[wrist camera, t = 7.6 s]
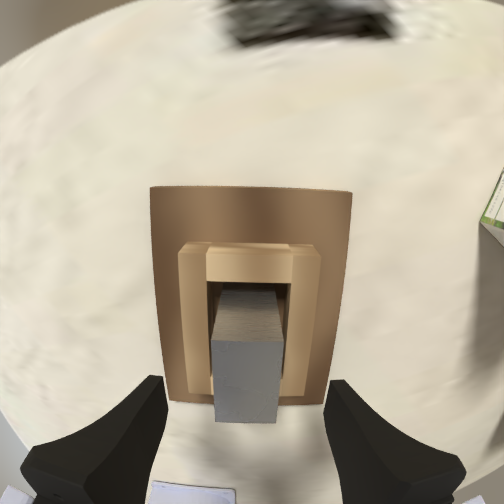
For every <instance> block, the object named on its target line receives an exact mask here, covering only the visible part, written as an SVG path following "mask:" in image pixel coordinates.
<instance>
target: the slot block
mask: <svg viewBox="0 0 504 504" xmlns="http://www.w3.org/2000/svg"><path fill="white" fill-rule="evenodd" d="M351 207H352V193H351V192H348V191H335V190H319V189H301V188H278V187H245V186H155V187H151V188H150V216H151V239H152V257H153V271H154V284H155V295H156V306H157V315H158V325H159V333H160V341H161V349H162V356H163V363H164V370H165V377H166V383H167V389H168V395H169V400H172V401H182V402H193V403H207V404H214V391H213V373H212V351H211V338H212V334H213V329H214V324H215V320H216V315H217V311H218V306H219V302H220V297H221V293H222V288H223V284H224V282H258V283H274V288H275V294H276V299H277V305H278V311H279V316H280V322H281V328H282V333H283V339H284V347H283V358H282V369H281V379H280V389H279V399H278V405H310V404H323V400H324V395H325V391H326V386H327V381H328V376H329V371H330V366H331V360H332V355H333V349H334V344H335V338H336V332H337V326H338V319H339V313H340V306H341V299H342V292H343V285H344V277H345V268H346V260H347V251H348V241H349V231H350V219H351Z"/></svg>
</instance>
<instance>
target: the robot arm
mask: <svg viewBox="0 0 504 504" xmlns="http://www.w3.org/2000/svg"><path fill="white" fill-rule="evenodd" d="M167 415H168V404H167V399H166V393H165V387H164V381H163V376H155V375H149V376H148V377H147V378H146V379H145V380H144V381H143V382H142V383H141V384H140V385H139V386H137V387H136V388H135V389H134V390H133V391H132V392H131V393H130V394H129V395H128V396H127V397H126V398H125V399H124V400H123V401H122V402H120V403H119V404H118V405H117V406H116V407H114V408H113V409H112V410H111V411H109V412H108V413H107V414H105V415H104V416H103V417H101V418H100V419H98V420H97V421H95V422H94V423H92V424H90V425H89V426H87V427H85V428H83V429H81V430H79V431H77V432H75V433H73V434H71V435H68V436H66V437H63V438H61V439H58V440H55V441H52V442H49V443H45V444H41V445H37V446H33V448H32V449H31V450H30V452H29V454H28V455H27V457H26V458H25V460H24V462H23V463H22V465H21V467H20V470H21V473H22V475H23V477H24V478H25V479H26V481H27V482H28V483H29V484H30V486H31V487H32V488H33V489H34V491H35V492H36V493H37V496H36V498H35V499H34V498H33V497H31V496H30V495H28V494H26V493H25V492H23V491H21V490H19V489H17V488H15V487H13V486H11V485H8V486H7V488H6V490H5V492H4V493H3V495H2V497H1V499H0V504H145V498H146V492H147V487H148V481H149V476H150V472H151V468H152V465H153V462H154V459H155V456H156V453H157V450H158V447H159V444H160V441H161V438H162V435H163V432H164V429H165V425H166V420H167ZM323 415H324V422H325V428H326V433H327V437H328V440H329V444H330V447H331V450H332V454H333V457H334V460H335V464H336V467H337V470H338V474H339V479H340V485H341V492H342V499H343V504H452V502H454V497H453V495H452V493H453V492H454V491H455V490H456V489H457V487H458V486H459V485H460V484H461V482H462V481H463V480H464V478H465V476H466V469H465V468H464V466H463V464H462V462H461V461H460V459H459V458H458V456H457V455H454V454H450V453H447V452H444V451H440V450H437V449H435V448H432V447H430V446H428V445H425V444H423V443H421V442H419V441H417V440H415V439H413V438H411V437H410V436H408V435H406V434H404V433H403V432H401V431H400V430H398V429H397V428H395V427H394V426H393V425H391V424H390V423H388V422H387V421H386V420H385V419H383V418H382V417H381V416H380V415H379V414H377V413H376V412H375V411H374V410H373V409H372V408H371V407H370V406H369V405H368V404H367V403H366V402H365V401H364V400H363V399H362V398H361V397H360V396H359V395H358V394H357V393H356V392H355V391H354V390H353V389H352V388H351V387H350V385H349V384H348V383H347V382H346V381H345V380H344V379H343V380H330V385H329V390H328V394H327V399H326V403H325V408H324V412H323ZM151 485H152V491H151V494H150V498H149V502H148V504H235V490H233V489H219V488H206V487H195V486H186V485H178V484H171V483H164V482H157V481H152V483H151ZM461 504H485V502H484V500H483V498H482V496H481V495H478V496H476V497H475V498H472V499H470V500H468V501H466V502H463V503H461Z"/></svg>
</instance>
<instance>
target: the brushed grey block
mask: <svg viewBox="0 0 504 504" xmlns="http://www.w3.org/2000/svg"><path fill="white" fill-rule="evenodd" d="M283 347H284V339H283V333H282V328H281V322H280V316H279V311H278V305H277V299H276V294H275V288H274V283H258V282H224V284H223V288H222V293H221V297H220V302H219V306H218V311H217V315H216V320H215V324H214V329H213V334H212V338H211V351H212V373H213V391H214V408H215V422H227V423H276V417H277V408H278V399H279V389H280V379H281V369H282V358H283Z"/></svg>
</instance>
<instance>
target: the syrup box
mask: <svg viewBox="0 0 504 504" xmlns="http://www.w3.org/2000/svg"><path fill="white" fill-rule="evenodd" d="M480 222H481V224H482V225H483V226H484V227H485V228H486V229H487V230H488V231H489V232H490V233H491V234H492V235H493V236H494V237H495V238H496V239H497V240H498V241H499V242H500V243H501V245H502V246H503V247H504V168H503V171H502V173H501V176H500V178H499V181H498V183H497V185H496V188H495V190H494V192H493V194H492V197H491V199H490V201H489V203H488V205H487V208H486V210H485V212H484V214H483V216H482V218H481V220H480Z"/></svg>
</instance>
